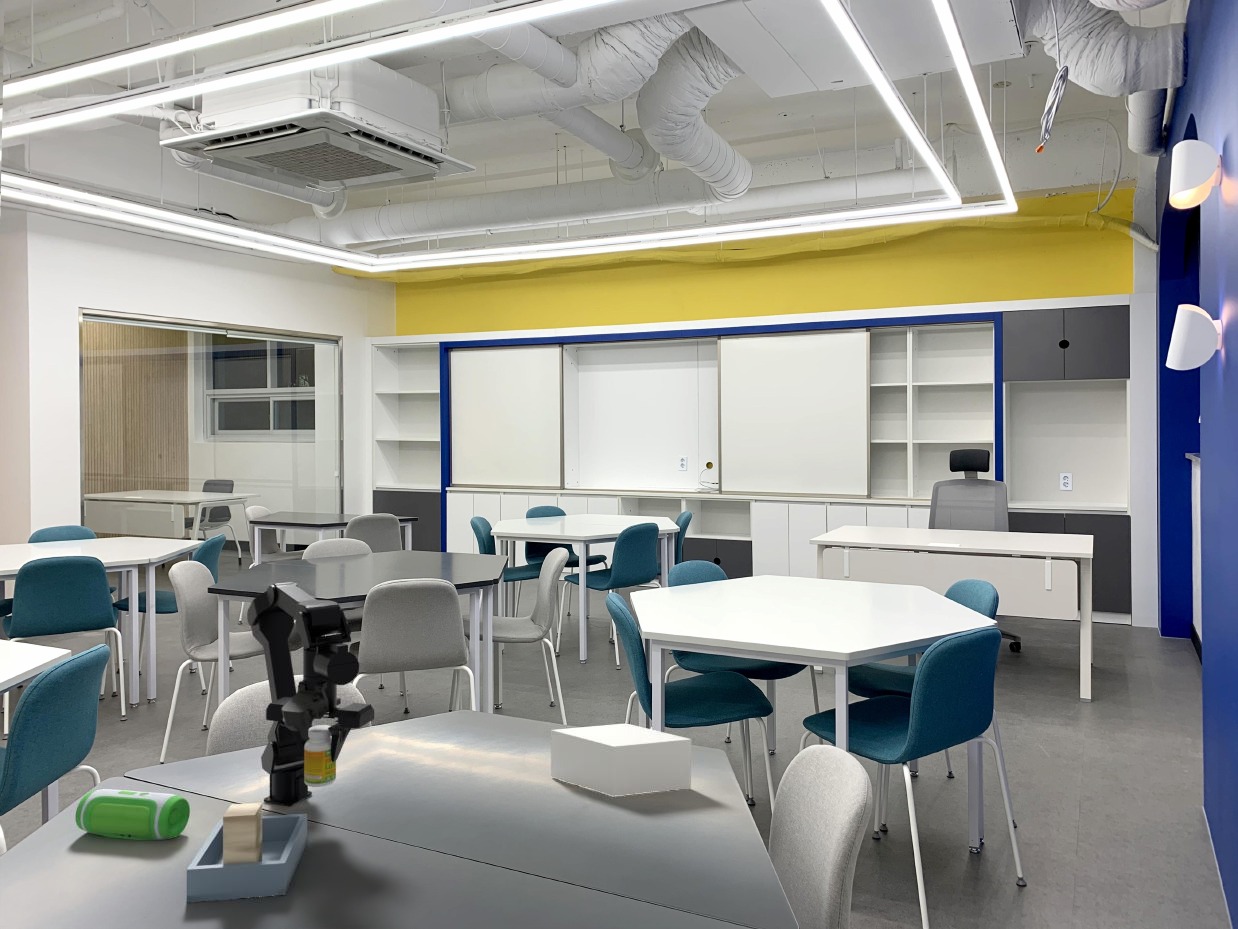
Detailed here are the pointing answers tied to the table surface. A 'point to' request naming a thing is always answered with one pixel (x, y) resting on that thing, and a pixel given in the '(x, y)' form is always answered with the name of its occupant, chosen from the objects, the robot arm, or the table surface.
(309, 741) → the supplement bottle
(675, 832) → the table surface
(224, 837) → the tall ash block
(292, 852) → the tote
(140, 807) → the speaker
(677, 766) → the white rectangular block
